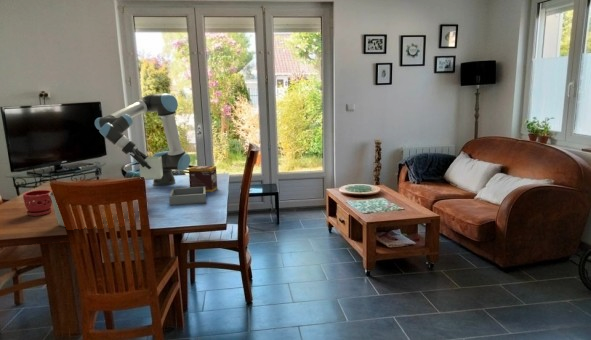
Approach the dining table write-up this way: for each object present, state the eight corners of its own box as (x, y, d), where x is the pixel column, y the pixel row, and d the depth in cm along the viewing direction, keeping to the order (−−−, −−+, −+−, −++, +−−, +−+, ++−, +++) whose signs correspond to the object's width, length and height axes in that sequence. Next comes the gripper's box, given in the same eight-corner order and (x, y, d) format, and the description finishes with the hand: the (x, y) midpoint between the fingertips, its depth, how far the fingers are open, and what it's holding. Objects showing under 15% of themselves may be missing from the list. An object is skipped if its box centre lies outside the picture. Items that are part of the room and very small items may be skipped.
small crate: (143, 176, 232) (141, 157, 230) (163, 175, 235) (161, 156, 233) (140, 180, 222) (138, 160, 220) (161, 179, 224) (159, 159, 222)
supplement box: (212, 192, 254) (210, 168, 251) (189, 191, 256) (188, 168, 254) (217, 188, 264) (216, 165, 261) (196, 188, 266) (194, 165, 264)
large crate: (172, 197, 242) (172, 188, 241) (205, 195, 246) (205, 186, 245) (170, 205, 223) (169, 196, 222) (206, 203, 227) (205, 193, 226)
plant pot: (22, 218, 205) (18, 196, 202) (31, 211, 217) (28, 190, 215) (50, 215, 208) (47, 194, 206) (57, 209, 221) (54, 188, 218)
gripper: (125, 147, 233) (154, 171, 239) (116, 152, 211) (149, 179, 217) (133, 138, 233) (163, 162, 239) (126, 142, 211) (158, 169, 217)
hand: (156, 170), depth 228 cm, fingers closed on small crate, 11 cm apart
